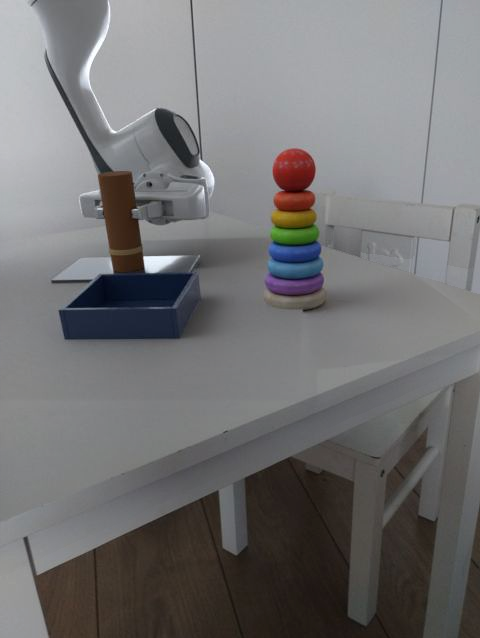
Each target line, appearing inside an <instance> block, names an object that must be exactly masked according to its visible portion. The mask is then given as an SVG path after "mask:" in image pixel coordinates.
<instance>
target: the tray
mask: <svg viewBox="0 0 480 638" xmlns="http://www.w3.org/2000/svg"><path fill="white" fill-rule="evenodd" d="M200 284H201V283H200V274H199V272H198V271H192V272H182V273H127V274H99V275H97V276H96V277H95V278H94V279H93V280H92V281H91V282H90V283H86V285H85V286H83V288H82V289H81V290H79V291H78V292H77V293H76V294H75V295H73V296H72V298H70V299H69V300H68V301H67V302H66V303H65V304H63V306H61V307H60V308H59V309H58V314H59V320H60V324H61V329H62V334H63V339H64V340H68V341H69V340H70V341H71V340H74V341H75V340H179V339H181V337H182V335H183V333H184V332H185V329H186V328H187V325H188V323H189V322H190V320H191V318H192V316H193V314H194V312H195V311H196V308H197V306H198V305H199V303H200V301H201V299H202V298H201V297H202V295H201V285H200Z"/></svg>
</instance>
